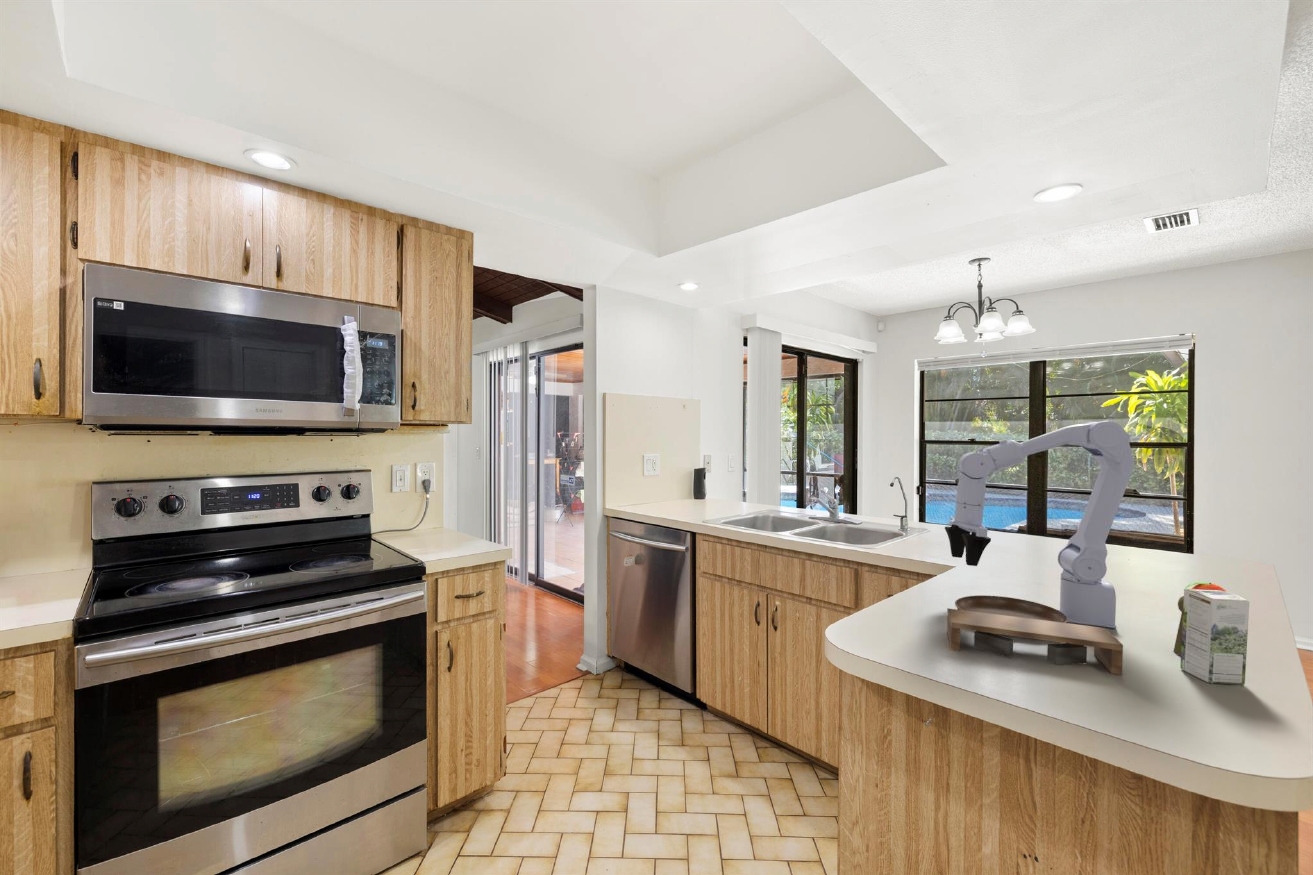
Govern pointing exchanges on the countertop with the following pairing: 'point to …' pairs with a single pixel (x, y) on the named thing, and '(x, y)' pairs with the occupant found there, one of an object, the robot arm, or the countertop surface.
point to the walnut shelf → (1036, 637)
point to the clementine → (1206, 586)
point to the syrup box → (1215, 636)
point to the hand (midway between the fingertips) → (964, 561)
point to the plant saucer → (1010, 607)
